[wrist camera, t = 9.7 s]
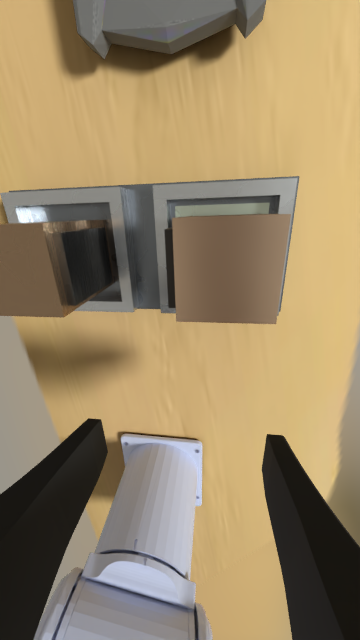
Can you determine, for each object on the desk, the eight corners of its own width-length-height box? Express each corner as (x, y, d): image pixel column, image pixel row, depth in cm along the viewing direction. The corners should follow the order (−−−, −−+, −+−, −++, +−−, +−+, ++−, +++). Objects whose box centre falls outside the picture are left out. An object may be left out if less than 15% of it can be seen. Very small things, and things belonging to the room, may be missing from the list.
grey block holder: (275, 303, 17) (313, 363, 10) (52, 299, 19) (-36, 346, 13) (291, 179, 14) (360, 148, 7) (26, 192, 16) (-108, 178, 10)
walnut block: (261, 213, 14) (290, 213, 8) (254, 284, 15) (275, 324, 10) (182, 216, 14) (160, 218, 9) (184, 283, 16) (166, 321, 10)
